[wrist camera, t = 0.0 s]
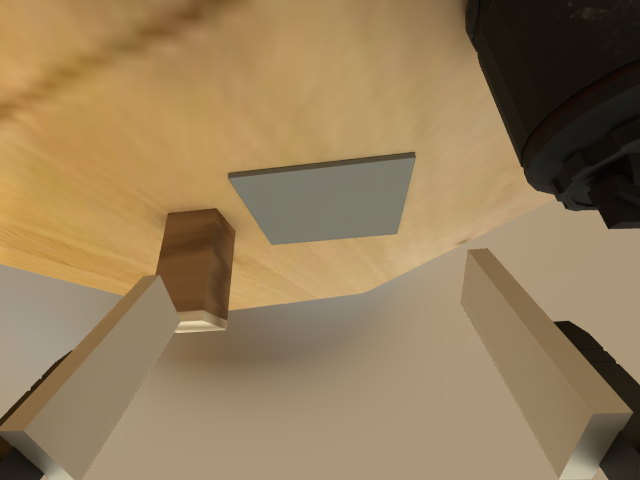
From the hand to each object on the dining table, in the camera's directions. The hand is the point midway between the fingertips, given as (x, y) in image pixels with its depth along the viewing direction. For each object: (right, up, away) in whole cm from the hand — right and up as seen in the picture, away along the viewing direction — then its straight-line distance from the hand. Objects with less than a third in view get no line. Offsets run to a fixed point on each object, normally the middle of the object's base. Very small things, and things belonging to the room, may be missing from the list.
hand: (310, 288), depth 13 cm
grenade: (+12, +16, +3) cm, 20 cm away
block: (-14, +4, +25) cm, 29 cm away
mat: (+1, +6, +23) cm, 24 cm away
